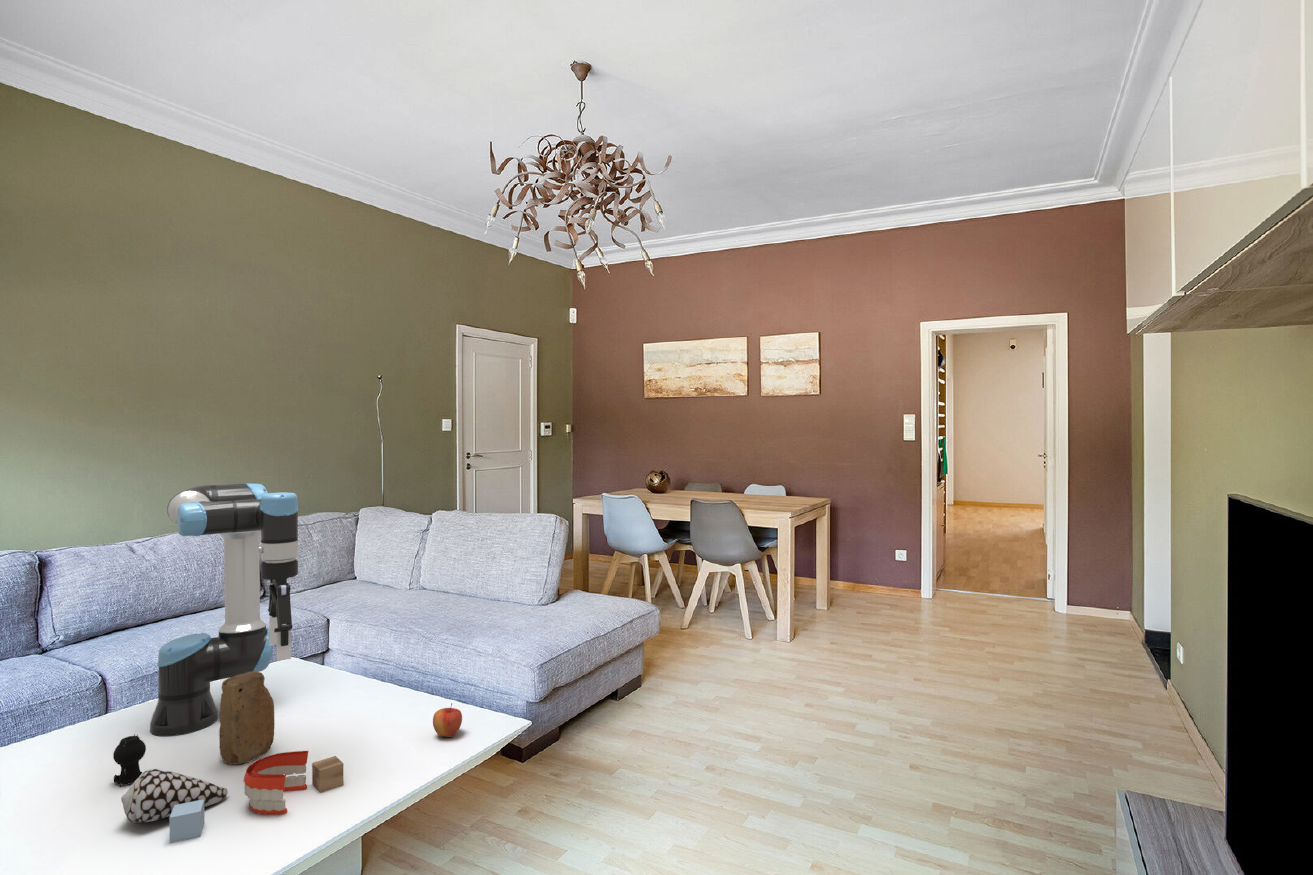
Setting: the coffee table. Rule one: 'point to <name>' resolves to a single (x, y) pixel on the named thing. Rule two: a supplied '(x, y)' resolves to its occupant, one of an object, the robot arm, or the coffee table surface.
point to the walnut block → (327, 774)
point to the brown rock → (245, 718)
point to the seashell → (166, 794)
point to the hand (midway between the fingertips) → (279, 651)
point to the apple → (447, 721)
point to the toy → (274, 781)
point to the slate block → (187, 821)
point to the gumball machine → (129, 759)
